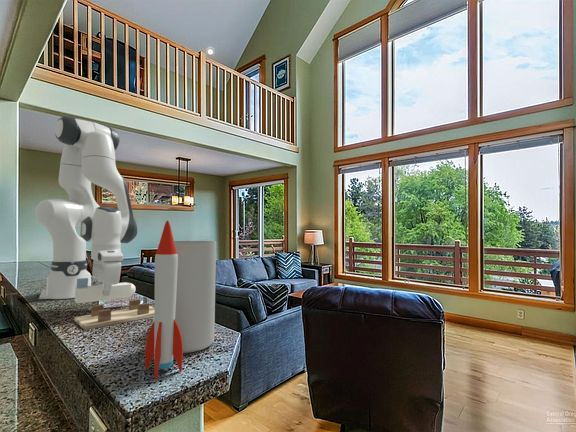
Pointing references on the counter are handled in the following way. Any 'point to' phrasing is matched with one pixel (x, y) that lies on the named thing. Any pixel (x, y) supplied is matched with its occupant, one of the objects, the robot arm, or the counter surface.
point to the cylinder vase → (196, 293)
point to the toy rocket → (165, 308)
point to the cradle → (115, 315)
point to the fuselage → (101, 291)
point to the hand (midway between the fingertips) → (103, 293)
